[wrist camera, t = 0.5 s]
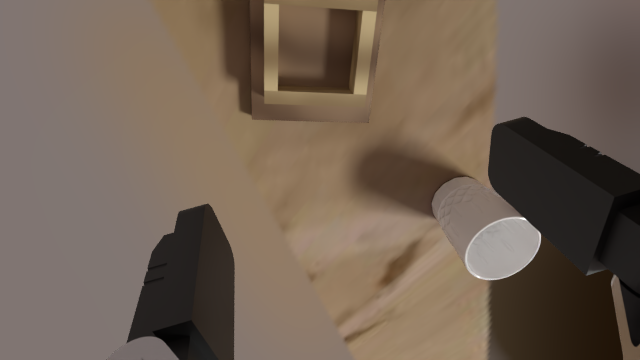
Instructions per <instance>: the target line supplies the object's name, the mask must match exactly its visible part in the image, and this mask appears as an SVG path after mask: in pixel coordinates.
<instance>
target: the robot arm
mask: <svg viewBox="0 0 640 360" xmlns="http://www.w3.org/2000/svg"><path fill="white" fill-rule="evenodd" d="M488 176H489V180H490V183H491V185H492V187H493V188H494V190H495V191H496V192H497V193H498V194H499V195H500V196H501V197H502V198H503V199H504V200H506V201H507V202H508V203H509V204H510V205H511V206H512V207H513V208H514V209H515V210H516V211H517V212H518V213H520V214H521V215H522V216H523V217H524V218H525V219H526V220H527V221H528V222H529V223H530V224H531V225H532V226H534V227H535V228H536V229H537V230H538V231H539V232H540V233H541V234H542V235H543V236H544V237H545V238H547V239H548V240H549V241H550V242H551V243H552V244H553V245H554V246H555V247H556V248H557V249H558V250H560V251H561V252H562V253H563V254H564V255H565V256H566V257H567V258H568V259H569V260H570V261H571V262H572V263H573V264H575V265H576V266H577V267H578V268H579V269H580V270H581V271H582V272H583V273H584V274H585V275H589V274H593V273H596V272H599V271H602V270H606V269H609V270H610V271H611V272H612V273H614V276H613V279H612V282H611V287H612V293H613V299H614V304H615V310H616V316H617V321H618V327H619V332H620V338H621V344H622V350H623V360H640V174H639V173H637V172H635V171H633V170H632V169H630V168H628V167H626V166H624V165H623V164H621V163H619V162H617V161H615V160H614V159H612V158H610V157H608V156H606V155H602V154H601V152H599V151H597V150H596V149H594V148H592V147H587V145H586V144H585V143H583V142H581V141H579V140H577V139H576V138H574V137H572V136H570V135H567V134H564V133H561V132H557V131H554V130H550V129H547V128H545V127H543V126H542V125H540V124H538V123H536V122H535V121H533V120H531V119H529V118H527V117H521V118H518V119H514V120H510V121H507V122H503V123H500V124H497V125H495V126H494V128H493V130H492V135H491V145H490V156H489V166H488ZM106 360H234V258H233V253H232V250H231V247H230V244H229V242H228V240H227V238H226V236H225V234H224V232H223V230H222V227H221V225H220V223H219V221H218V219H217V217H216V215H215V213H214V211H213V209H212V207H211V206H210V205H209V204H204V205H201V206H197V207H194V208H190V209H186V210H183V211H180V212H179V213H178V217H177V221H176V226H175V231H174V233H171V234H167V235H164V236H163V238H162V239H161V240H160V242H159V243H158V244H157V246H156V247H155V249H154V250H153V251H152V254H151V258H150V261H149V265H148V272H147V273H146V276H145V279H144V286H142V290H141V294H140V297H139V301H138V304H137V308H136V312H135V315H134V319H133V322H132V326H131V329H130V333H129V336H128V340H127V343H126V344H125V345H123V346H121V347H120V348H119V349H117V350H116V351H115V352H114V353H112V354H111V355H110V356H109V357H108V358H107V359H106Z"/></svg>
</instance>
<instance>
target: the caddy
mask: <svg viewBox="0 0 640 360" xmlns="http://www.w3.org/2000/svg"><path fill="white" fill-rule="evenodd" d="M384 5H385V0H250V50H251V101H252V119H254V120H287V121H320V122H353V123H369V117H370V110H371V102H372V95H373V87H374V80H375V72H376V65H377V57H378V50H379V42H380V35H381V27H382V20H383V12H384Z"/></svg>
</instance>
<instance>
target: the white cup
mask: <svg viewBox="0 0 640 360" xmlns="http://www.w3.org/2000/svg"><path fill="white" fill-rule="evenodd" d="M432 210H433V214H434V216H435V217H436V219H437V220H438V222H439V223H440V225H441V228H442V230H443V231H444V233H445V235H446V236H447V238H448V240H449V241H450V243H451V245H452V246H453V248H454V249H455V251H456V252H457V254H458V255H459V257H460V259H461V260H462V262H463V263H464V265H465V266H466V268H467V270H468V271H469V272H470V273H471V274H472V275H473V276H475V277H477V278H480V279H484V280H496V279H502V278H505V277H508V276H510V275H513V274H514V273H516V272H518V271H520V270H521V269H523V268H524V267H525V266H526V265H527V264H528V263H529V262H530V261H531V260H532V259H533V258H534V256H535V255H536V253H537V251H538V249H539V246H540V242H541V234H540V232H539V231H538V230H537V229H536V228H535V227H534V226H532V225H531V224H530V223H529V222H528V221H527V220H526V219H525V218H524V217H523V216H522V215H521V214H520V213H518V212H517V211H516V210H515V209H514V208H513V207H512V206H511V205H510V204H509V203H508V202H507V201H505V200H504V199H503V198H501V197H499V196H498V195H497V194H495V193H494V192H493V191H491V190H490V189H488V188H486V187H485V186H484V185H483V184H481V183H480V182H479V181H478V180H475V179H472V178H470V177H458V178H454V179H452V180H450V181H448V182H446V183H444V184H443V185H442V186H441V187H440V188H439V189H438V190H437V192H436V193H435V195H434V198H433V201H432Z"/></svg>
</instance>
